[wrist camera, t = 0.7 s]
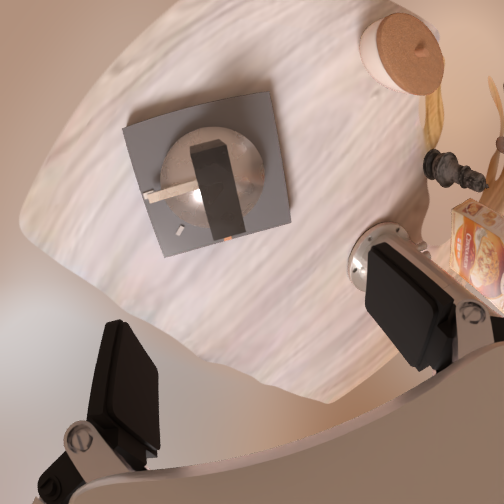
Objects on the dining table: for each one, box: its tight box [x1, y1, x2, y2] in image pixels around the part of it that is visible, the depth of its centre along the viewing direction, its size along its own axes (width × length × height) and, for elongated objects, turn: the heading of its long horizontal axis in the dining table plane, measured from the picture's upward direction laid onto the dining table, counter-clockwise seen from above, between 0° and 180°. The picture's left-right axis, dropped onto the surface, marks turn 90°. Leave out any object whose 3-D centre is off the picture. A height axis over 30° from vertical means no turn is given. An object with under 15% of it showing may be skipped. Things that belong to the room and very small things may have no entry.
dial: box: [147, 126, 265, 241], centre depth 26 cm, size 12×11×8 cm
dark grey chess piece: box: [423, 149, 489, 192], centre depth 32 cm, size 6×6×12 cm
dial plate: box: [122, 91, 291, 258], centre depth 30 cm, size 16×16×2 cm
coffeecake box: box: [450, 198, 504, 314], centre depth 38 cm, size 15×7×20 cm, turn 22°
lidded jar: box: [359, 13, 444, 95], centre depth 24 cm, size 11×11×9 cm
